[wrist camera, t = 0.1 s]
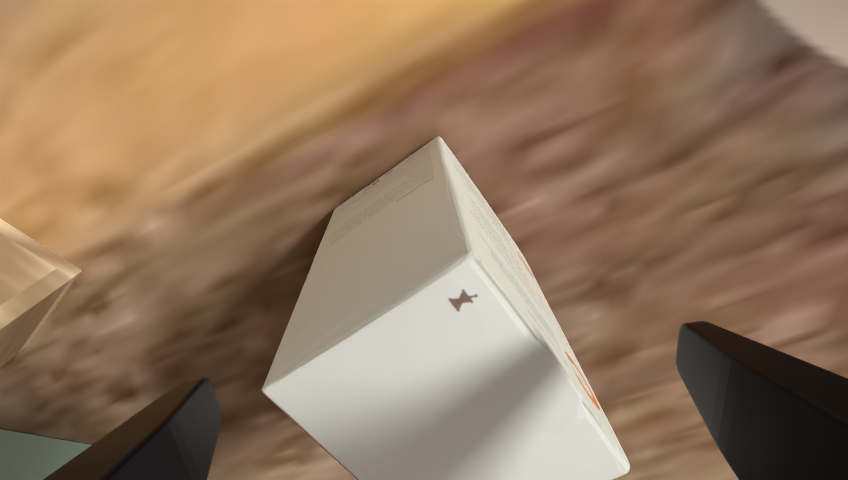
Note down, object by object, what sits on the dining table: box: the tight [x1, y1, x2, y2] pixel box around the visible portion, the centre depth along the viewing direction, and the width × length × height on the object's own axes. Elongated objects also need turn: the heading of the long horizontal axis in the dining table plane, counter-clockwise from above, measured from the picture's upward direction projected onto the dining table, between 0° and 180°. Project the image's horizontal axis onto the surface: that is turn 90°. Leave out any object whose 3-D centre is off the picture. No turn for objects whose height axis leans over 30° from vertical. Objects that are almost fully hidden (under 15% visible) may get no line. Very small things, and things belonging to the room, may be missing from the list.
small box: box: [262, 136, 630, 480], centre depth 18 cm, size 8×6×13 cm
